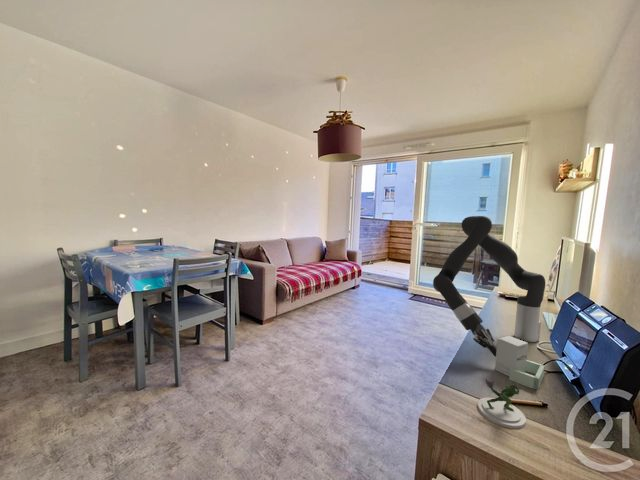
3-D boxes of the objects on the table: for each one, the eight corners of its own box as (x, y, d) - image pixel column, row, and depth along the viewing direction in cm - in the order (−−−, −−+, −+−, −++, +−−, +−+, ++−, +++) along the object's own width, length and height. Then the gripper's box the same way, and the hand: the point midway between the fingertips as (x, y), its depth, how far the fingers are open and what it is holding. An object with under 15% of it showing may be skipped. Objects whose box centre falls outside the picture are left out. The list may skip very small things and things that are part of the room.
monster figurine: (523, 435, 74) (527, 399, 73) (473, 413, 82) (476, 380, 81) (527, 412, 83) (530, 380, 82) (481, 395, 91) (484, 365, 90)
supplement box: (514, 379, 100) (517, 346, 99) (494, 369, 107) (496, 337, 106) (526, 375, 103) (529, 342, 102) (505, 365, 110) (508, 334, 109)
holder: (509, 379, 100) (510, 369, 100) (517, 366, 109) (518, 357, 109) (537, 390, 94) (538, 379, 94) (543, 375, 103) (544, 365, 103)
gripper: (468, 315, 109) (501, 356, 101) (479, 308, 118) (510, 346, 110) (453, 323, 114) (484, 364, 106) (465, 316, 123) (494, 353, 115)
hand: (497, 355), depth 108 cm, fingers closed
